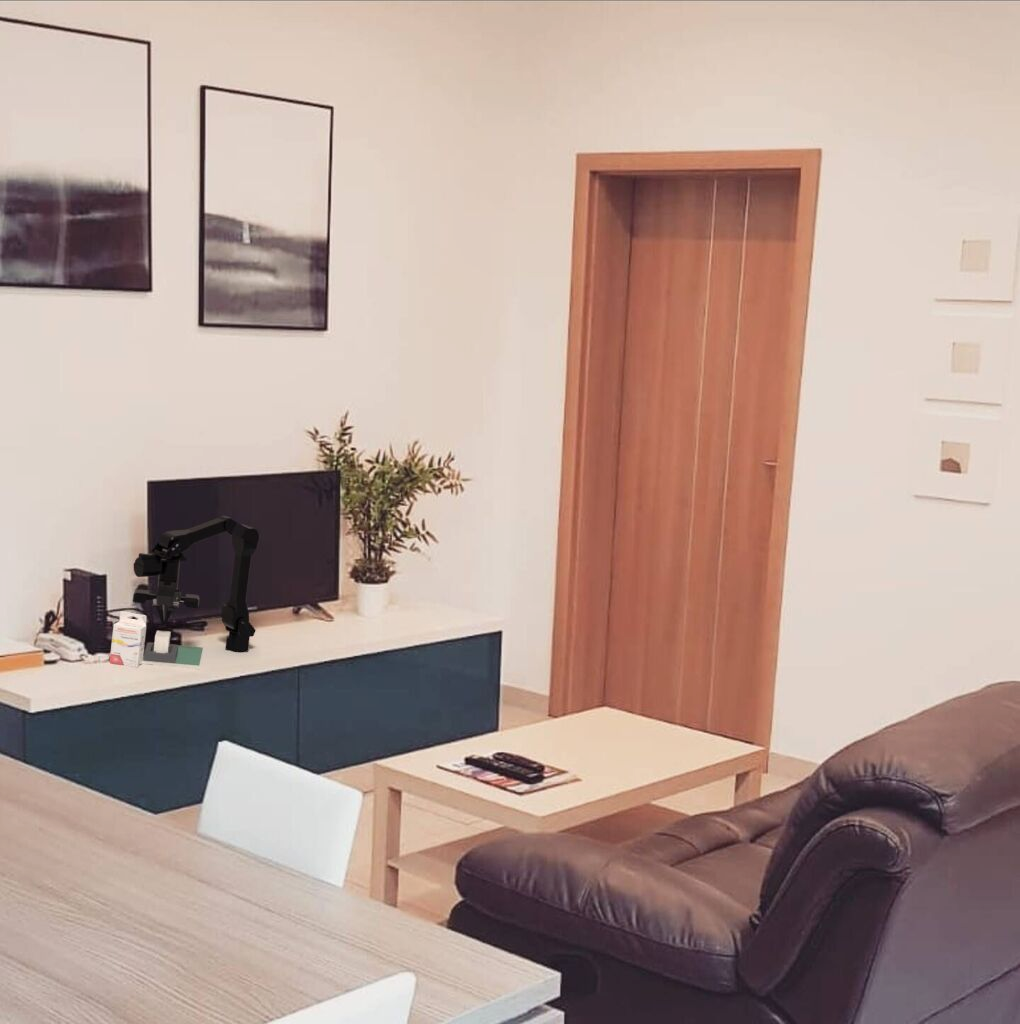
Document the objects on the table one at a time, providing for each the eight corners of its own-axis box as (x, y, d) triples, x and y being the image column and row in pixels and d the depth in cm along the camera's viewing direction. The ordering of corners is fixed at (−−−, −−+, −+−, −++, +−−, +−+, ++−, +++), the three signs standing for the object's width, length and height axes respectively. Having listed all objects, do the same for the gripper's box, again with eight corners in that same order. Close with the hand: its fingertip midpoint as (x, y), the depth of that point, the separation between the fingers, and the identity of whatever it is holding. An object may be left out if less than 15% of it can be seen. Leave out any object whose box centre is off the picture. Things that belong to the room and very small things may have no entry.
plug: (168, 654, 456) (170, 631, 455) (166, 660, 449) (168, 637, 448) (154, 653, 455) (157, 630, 454) (152, 659, 448) (154, 636, 447)
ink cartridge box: (108, 663, 442) (113, 614, 440) (114, 659, 447) (119, 610, 445) (137, 668, 441) (142, 618, 439) (143, 663, 446) (147, 614, 444)
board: (202, 650, 468) (203, 639, 467) (198, 668, 449) (200, 657, 448) (149, 646, 465) (150, 634, 465) (143, 664, 446) (144, 652, 445)
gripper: (133, 578, 439) (128, 631, 442) (199, 584, 442) (194, 637, 445) (137, 570, 450) (132, 621, 452) (201, 576, 453) (196, 627, 455)
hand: (163, 627), depth 451 cm, fingers closed
